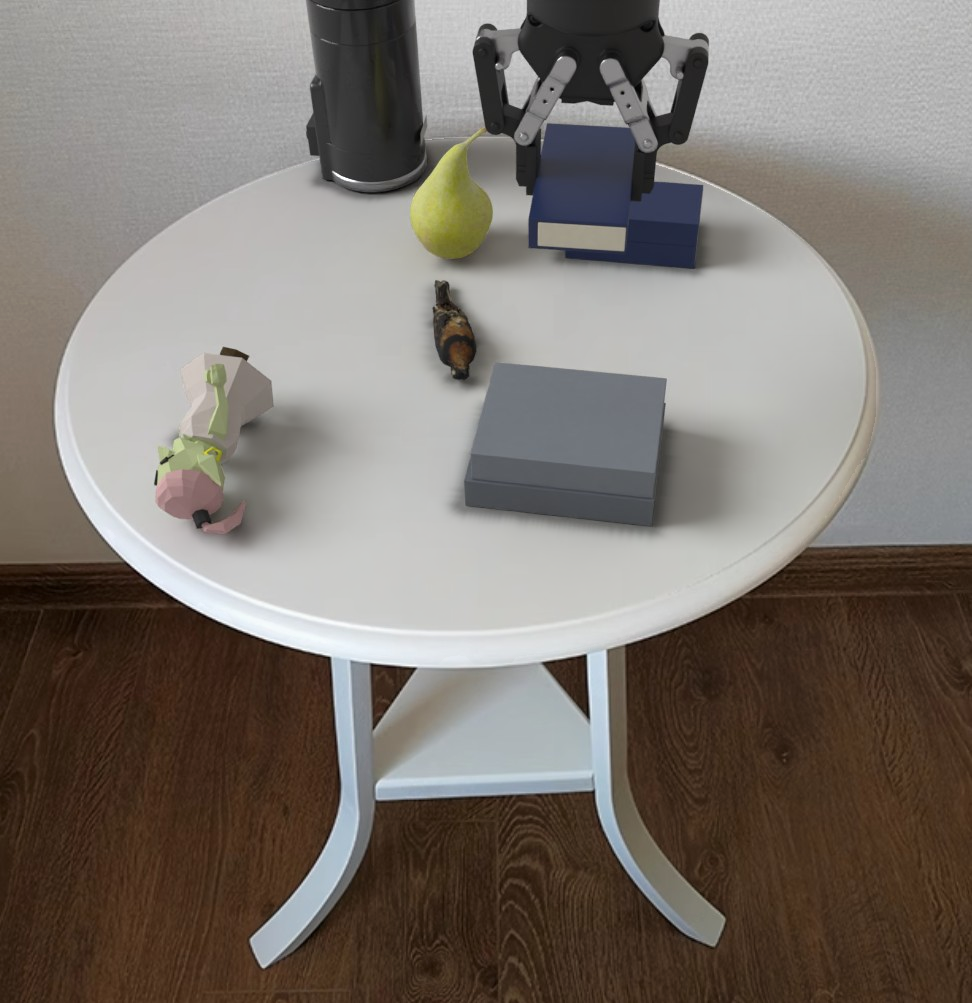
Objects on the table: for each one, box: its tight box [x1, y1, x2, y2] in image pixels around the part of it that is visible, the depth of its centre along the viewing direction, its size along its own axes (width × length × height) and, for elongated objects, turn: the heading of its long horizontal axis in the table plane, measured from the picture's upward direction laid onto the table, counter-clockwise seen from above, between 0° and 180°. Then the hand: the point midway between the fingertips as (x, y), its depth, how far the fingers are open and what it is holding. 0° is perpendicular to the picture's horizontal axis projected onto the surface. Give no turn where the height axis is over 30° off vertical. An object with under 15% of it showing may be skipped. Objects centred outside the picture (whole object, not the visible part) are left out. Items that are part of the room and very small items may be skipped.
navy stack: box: [564, 180, 704, 269], centre depth 107 cm, size 6×11×4 cm, turn 80°
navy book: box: [527, 122, 635, 254], centre depth 79 cm, size 6×11×2 cm, turn 172°
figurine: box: [153, 346, 275, 535], centre depth 88 cm, size 9×7×15 cm
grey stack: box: [463, 361, 668, 527], centre depth 88 cm, size 13×10×5 cm
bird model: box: [431, 279, 477, 381], centre depth 99 cm, size 3×13×3 cm, turn 5°
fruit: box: [409, 125, 494, 260], centre depth 104 cm, size 7×8×12 cm
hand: (584, 191), depth 80 cm, fingers closed on navy book, 6 cm apart
